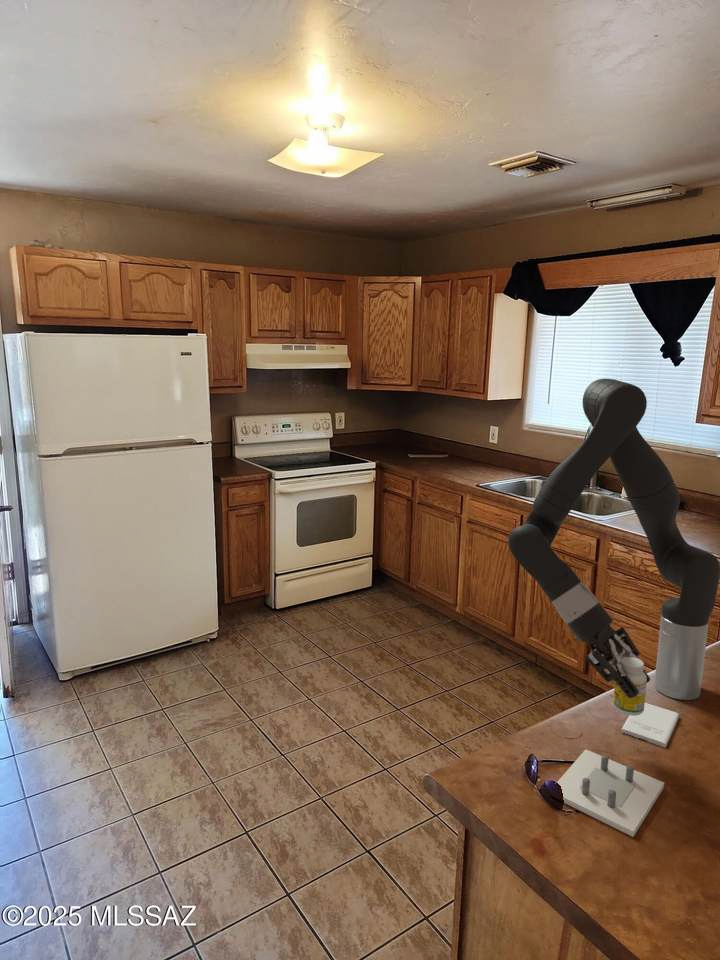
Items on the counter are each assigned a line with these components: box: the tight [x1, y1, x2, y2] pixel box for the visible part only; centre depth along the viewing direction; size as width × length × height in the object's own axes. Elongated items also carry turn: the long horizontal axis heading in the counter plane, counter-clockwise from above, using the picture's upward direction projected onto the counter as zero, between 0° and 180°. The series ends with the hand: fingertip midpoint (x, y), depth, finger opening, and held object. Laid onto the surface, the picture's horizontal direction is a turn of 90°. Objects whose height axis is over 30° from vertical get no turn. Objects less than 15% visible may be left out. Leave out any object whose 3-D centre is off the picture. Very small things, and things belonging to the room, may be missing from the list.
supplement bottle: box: [613, 657, 648, 716], centre depth 117 cm, size 5×5×10 cm
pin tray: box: [556, 749, 665, 838], centre depth 108 cm, size 15×14×4 cm
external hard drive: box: [620, 702, 680, 749], centre depth 127 cm, size 2×8×12 cm
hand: (640, 688), depth 116 cm, fingers closed on supplement bottle, 5 cm apart
